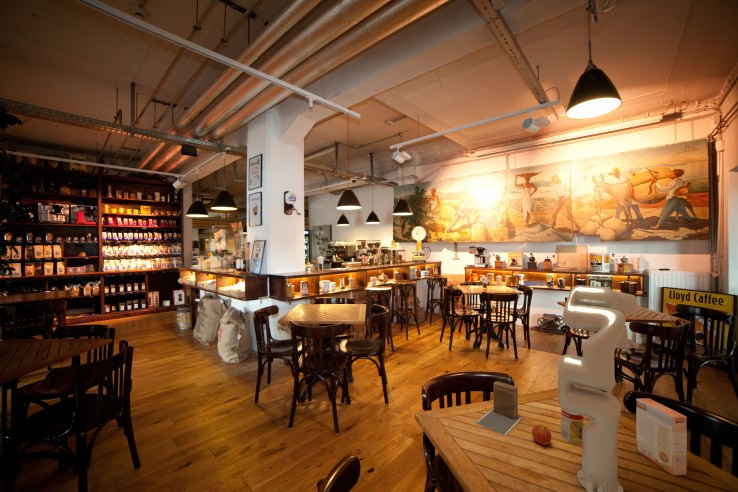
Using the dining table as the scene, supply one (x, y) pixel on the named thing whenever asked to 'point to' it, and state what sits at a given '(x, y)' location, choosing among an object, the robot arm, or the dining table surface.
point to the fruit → (541, 434)
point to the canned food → (571, 426)
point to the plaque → (506, 400)
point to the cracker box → (662, 435)
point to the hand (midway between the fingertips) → (613, 359)
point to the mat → (498, 422)
